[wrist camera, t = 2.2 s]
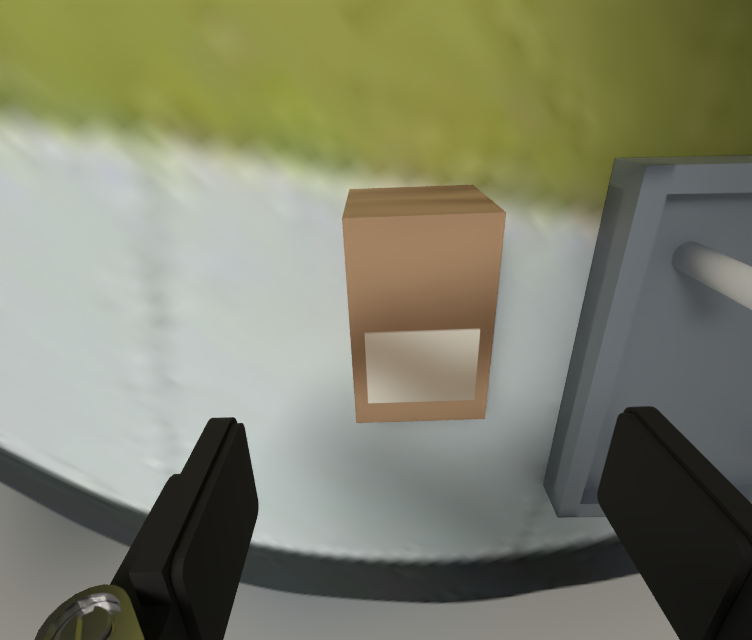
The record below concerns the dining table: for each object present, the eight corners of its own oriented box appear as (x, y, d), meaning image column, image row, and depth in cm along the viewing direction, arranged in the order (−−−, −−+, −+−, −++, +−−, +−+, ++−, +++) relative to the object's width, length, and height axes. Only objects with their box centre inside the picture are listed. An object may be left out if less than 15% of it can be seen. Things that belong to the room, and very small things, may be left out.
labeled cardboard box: (349, 188, 18) (341, 219, 13) (471, 184, 18) (506, 213, 13) (359, 355, 21) (356, 424, 17) (461, 352, 21) (485, 420, 17)
